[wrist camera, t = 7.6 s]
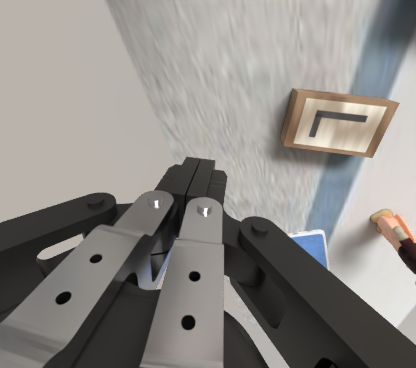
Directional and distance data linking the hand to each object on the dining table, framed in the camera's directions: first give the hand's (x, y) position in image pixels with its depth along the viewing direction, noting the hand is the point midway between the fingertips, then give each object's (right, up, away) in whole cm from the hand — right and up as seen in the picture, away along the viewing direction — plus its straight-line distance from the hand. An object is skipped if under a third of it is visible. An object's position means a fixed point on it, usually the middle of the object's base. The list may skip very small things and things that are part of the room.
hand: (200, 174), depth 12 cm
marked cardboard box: (+10, +7, +14) cm, 19 cm away
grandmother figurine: (+26, -6, +21) cm, 34 cm away
